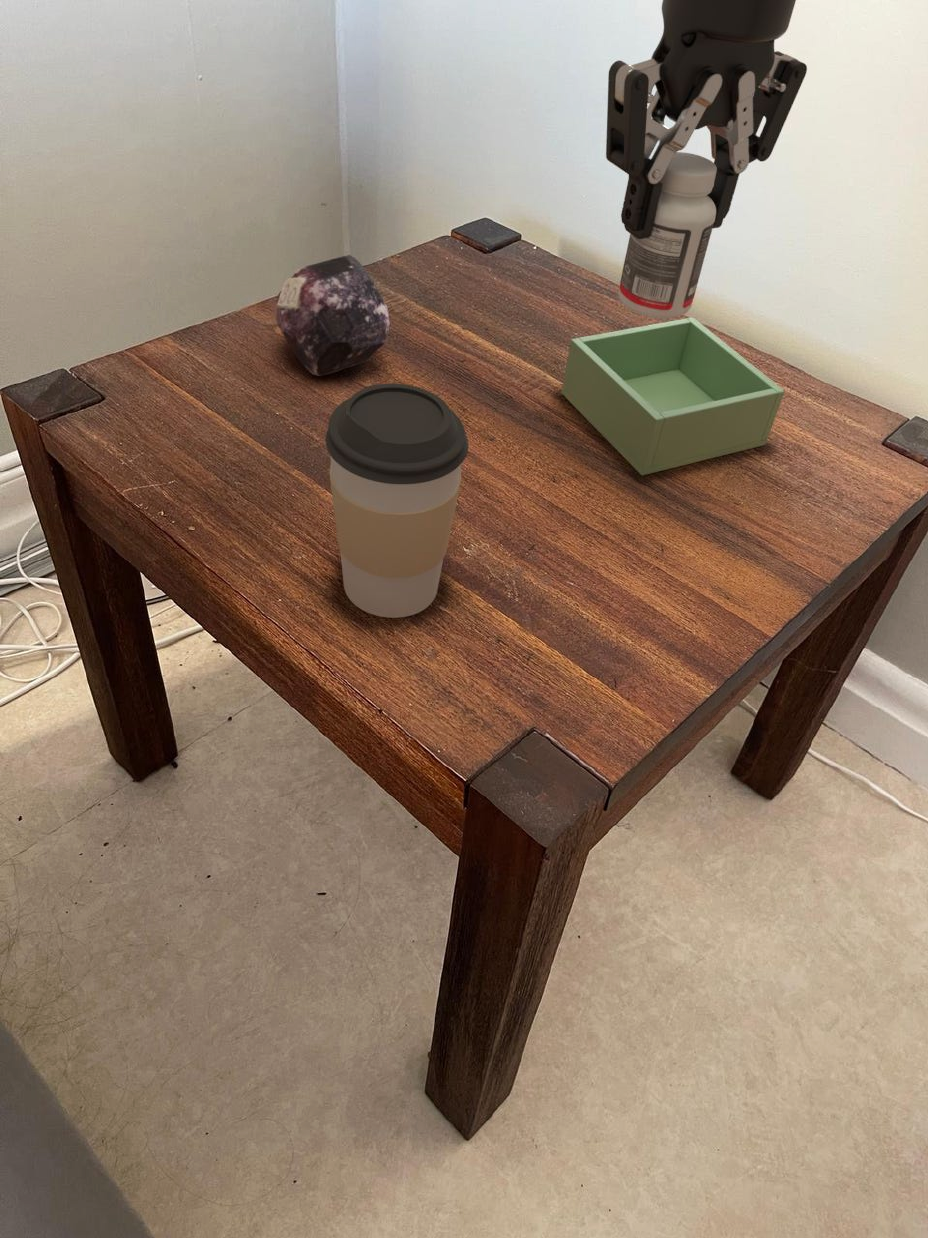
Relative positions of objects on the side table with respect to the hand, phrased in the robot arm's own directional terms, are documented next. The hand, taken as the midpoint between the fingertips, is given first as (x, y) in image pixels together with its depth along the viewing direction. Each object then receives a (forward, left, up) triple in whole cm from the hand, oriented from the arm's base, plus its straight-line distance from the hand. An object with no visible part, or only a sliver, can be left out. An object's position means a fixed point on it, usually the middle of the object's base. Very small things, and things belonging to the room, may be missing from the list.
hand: (672, 227), depth 66 cm
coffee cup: (+17, +15, -22) cm, 32 cm away
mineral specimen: (+26, -15, -22) cm, 37 cm away
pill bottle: (0, 0, -6) cm, 6 cm away
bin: (-5, -11, -22) cm, 25 cm away
